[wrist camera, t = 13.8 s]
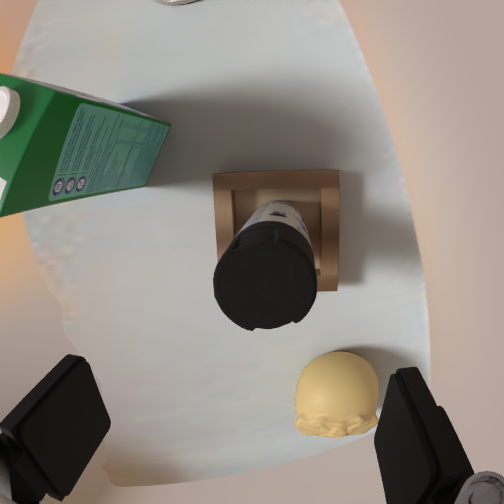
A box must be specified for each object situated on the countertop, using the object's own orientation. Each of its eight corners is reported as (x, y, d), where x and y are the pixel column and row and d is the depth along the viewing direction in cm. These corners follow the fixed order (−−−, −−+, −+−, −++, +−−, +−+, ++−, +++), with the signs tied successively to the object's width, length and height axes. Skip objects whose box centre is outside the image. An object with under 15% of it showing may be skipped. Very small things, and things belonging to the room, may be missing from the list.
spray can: (310, 248, 39) (328, 325, 20) (256, 259, 40) (226, 342, 21) (299, 194, 37) (310, 222, 18) (243, 206, 39) (197, 246, 19)
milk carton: (171, 123, 38) (34, 85, 14) (144, 187, 40) (-2, 219, 16) (117, 103, 38) (-26, 67, 14) (94, 163, 40) (-54, 176, 16)
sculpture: (292, 403, 46) (290, 453, 36) (299, 340, 43) (300, 387, 33) (362, 404, 45) (374, 452, 35) (378, 341, 42) (397, 386, 32)
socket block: (219, 173, 39) (212, 173, 36) (334, 170, 37) (338, 170, 34) (225, 281, 42) (220, 291, 39) (333, 281, 41) (337, 291, 37)
